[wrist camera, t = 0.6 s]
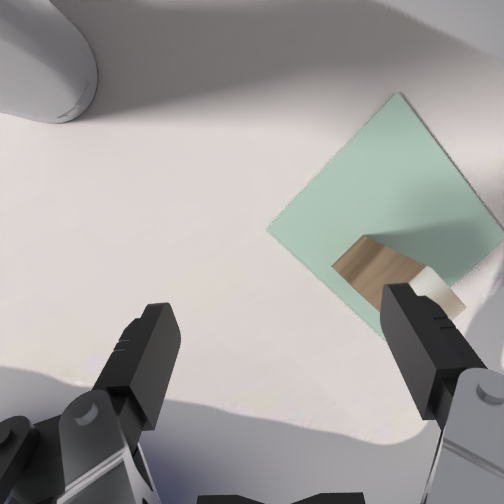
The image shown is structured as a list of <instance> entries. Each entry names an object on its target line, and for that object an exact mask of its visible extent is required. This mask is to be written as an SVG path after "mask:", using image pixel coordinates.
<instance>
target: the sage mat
mask: <svg viewBox="0 0 504 504" xmlns="http://www.w3.org/2000/svg"><path fill="white" fill-rule="evenodd" d="M266 230H267V231H268V232H269V233H270V234H271V235H272V236H273V237H274V238H275V239H277V240H278V241H279V242H280V243H281V244H282V245H283V246H284V247H285V248H286V249H287V250H288V251H289V252H290V253H292V254H293V255H294V256H295V257H296V258H297V259H298V260H299V261H300V262H301V263H302V264H303V265H304V266H306V267H307V268H308V269H309V270H310V271H311V272H312V273H313V274H314V275H315V276H316V277H317V278H318V279H319V280H321V281H322V282H323V283H324V284H325V285H326V286H327V287H328V288H329V289H330V290H331V291H332V292H333V293H334V294H336V295H337V296H338V297H339V298H340V299H341V300H342V301H343V302H344V303H345V304H346V305H347V306H348V307H350V308H351V309H352V310H353V311H354V312H355V313H356V314H357V315H358V316H359V317H360V318H361V319H362V320H363V321H365V322H366V323H367V324H368V325H369V326H370V327H371V328H372V329H373V330H374V331H375V332H376V333H377V334H379V335H380V336H381V337H382V338H383V339H384V340H385V341H386V339H385V337H384V334H383V332H382V329H381V325H380V312H379V311H378V310H377V309H376V308H374V307H373V306H372V305H371V304H370V303H369V302H368V301H367V300H366V299H365V298H364V297H362V296H361V295H360V294H359V293H358V292H357V291H356V290H355V289H354V288H353V287H352V286H351V285H350V284H349V283H348V282H347V281H346V280H345V279H344V278H343V277H341V276H340V275H339V274H338V273H337V272H336V271H335V270H334V269H333V268H332V267H331V266H332V265H333V264H334V263H335V262H336V261H337V260H338V259H339V258H340V257H341V256H342V255H343V254H344V253H345V252H346V251H347V250H348V249H349V248H350V247H351V246H352V245H353V244H354V243H355V242H356V241H357V240H358V239H359V238H360V237H361V236H362V235H364V236H366V237H368V238H370V239H373V240H375V241H377V242H379V243H381V244H383V245H385V246H387V247H389V248H391V249H393V250H395V251H397V252H399V253H401V254H403V255H405V256H408V257H410V258H412V259H414V260H416V261H418V262H420V263H422V264H424V265H426V266H428V267H430V268H432V269H433V270H434V271H435V272H436V273H437V274H438V276H439V277H440V278H441V279H442V280H443V281H444V282H445V283H446V284H447V286H448V287H449V288H450V287H451V286H452V285H453V284H455V283H456V282H457V281H458V280H459V279H460V278H461V277H462V276H463V275H464V274H466V273H467V272H468V271H469V270H470V269H471V268H472V267H473V266H474V265H476V264H477V263H478V262H479V261H480V260H481V259H482V258H483V257H484V256H486V255H487V254H488V253H489V252H490V251H491V250H492V249H493V248H494V247H495V246H497V245H498V244H499V243H500V242H501V241H502V240H503V239H504V232H503V230H502V229H501V228H500V226H499V225H498V224H497V222H496V221H495V220H494V218H493V217H492V216H491V214H490V213H489V212H488V210H487V209H486V208H485V206H484V205H483V204H482V202H481V201H480V200H479V198H478V197H477V196H476V194H475V193H474V192H473V190H472V189H471V188H470V186H469V185H468V184H467V182H466V181H465V180H464V178H463V177H462V176H461V174H460V173H459V172H458V170H457V169H456V168H455V166H454V165H453V164H452V162H451V161H450V160H449V158H448V157H447V156H446V154H445V153H444V152H443V150H442V149H441V148H440V146H439V145H438V144H437V142H436V141H435V140H434V138H433V137H432V136H431V134H430V133H429V132H428V130H427V129H426V128H425V126H424V125H423V124H422V122H421V121H420V120H419V118H418V117H417V116H416V114H415V113H414V112H413V110H412V109H411V108H410V106H409V105H408V104H407V103H406V101H405V100H404V99H403V97H402V96H401V95H400V93H399V92H397V93H395V94H394V95H393V96H392V97H391V98H390V99H389V100H388V101H387V102H386V104H385V105H384V106H383V107H382V108H381V109H380V110H379V111H378V112H377V113H376V114H375V115H374V116H373V117H372V118H371V119H370V120H369V121H368V122H367V123H366V125H365V126H364V127H363V128H362V129H361V130H360V131H359V132H358V133H357V134H356V135H355V136H354V137H353V138H352V139H351V140H350V141H349V142H348V143H347V144H346V146H345V147H344V148H343V149H342V150H341V151H340V152H339V153H338V154H337V155H336V156H335V157H334V158H333V159H332V160H331V161H330V162H329V163H328V164H327V166H326V167H325V168H324V169H323V170H322V171H321V172H320V173H319V174H318V175H317V176H316V177H315V178H314V179H313V180H312V181H311V182H310V183H309V184H308V185H307V187H306V188H305V189H304V190H303V191H302V192H301V193H300V194H299V195H298V196H297V197H296V198H295V199H294V200H293V201H292V202H291V203H290V204H289V205H288V206H287V208H286V209H285V210H284V211H283V212H282V213H281V214H280V215H279V216H278V217H277V218H276V219H275V220H274V221H273V222H272V223H271V224H270V225H269V226H268V228H267V229H266ZM386 342H387V341H386Z"/></svg>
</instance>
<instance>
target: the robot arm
mask: <svg viewBox="0 0 504 504" xmlns="http://www.w3.org/2000/svg"><path fill="white" fill-rule="evenodd" d="M97 77H98V76H97V67H96V62H95V59H94V56H93V52H92V50H91V48H90V46H89V44H88V42H87V41H86V39H85V38H84V36H83V35H82V34H81V33H80V31H79V30H78V29H77V28H76V27H75V26H74V25H73V24H72V23H71V22H70V21H69V20H68V19H67V18H66V17H65V16H64V15H63V14H62V13H61V12H60V11H59V10H58V9H57V8H56V7H55V6H54V5H53V4H52V3H51V2H50V1H49V0H0V112H1V113H5V114H9V115H12V116H16V117H21V118H25V119H29V120H33V121H37V122H43V123H49V124H55V123H64V122H67V121H70V120H73V119H74V118H76V117H78V116H79V115H81V114H82V113H83V112H84V111H85V110H86V109H87V108H88V106H89V105H90V103H91V101H92V100H93V98H94V95H95V91H96V88H97ZM380 325H381V329H382V332H383V334H384V337H385V339H386V341H387V343H388V345H389V348H390V350H391V352H392V354H393V356H394V359H395V361H396V363H397V365H398V367H399V369H400V372H401V374H402V376H403V378H404V380H405V383H406V385H407V387H408V389H409V391H410V394H411V396H412V398H413V400H414V402H415V404H416V407H417V409H418V411H419V413H420V415H421V418H422V420H436V421H437V423H438V425H439V427H440V429H441V431H440V435H439V438H438V442H437V445H436V449H435V453H434V456H433V460H432V464H431V467H430V471H429V474H428V478H427V482H426V486H425V489H424V493H423V496H422V500H421V503H420V504H504V376H503V375H502V374H499V373H497V372H495V371H492V370H489V369H488V368H487V367H486V366H485V365H484V363H483V362H482V361H481V359H480V358H479V357H478V356H477V354H476V353H475V351H474V350H473V349H472V347H471V346H470V345H469V343H468V342H467V341H466V339H465V338H464V337H463V335H462V334H461V333H460V332H459V330H458V329H456V326H455V325H454V324H453V322H452V321H451V320H450V319H449V318H448V316H447V314H446V313H445V312H444V310H443V309H442V308H441V306H440V305H439V304H437V303H436V302H434V301H433V300H431V299H430V298H429V297H427V296H426V295H424V296H417V295H416V293H415V292H414V290H413V289H412V287H411V286H410V284H409V283H407V282H404V283H393V284H384V286H383V290H382V299H381V309H380ZM180 343H181V334H180V330H179V327H178V324H177V322H176V319H175V316H174V313H173V311H172V308H171V305H170V304H169V303H155V304H148V305H147V306H146V308H145V310H144V312H143V314H142V316H141V318H136V319H134V320H133V321H132V322H131V323H130V324H129V325H128V326H127V327H126V328H125V330H124V331H123V333H122V335H121V337H120V339H119V343H117V344H116V346H115V348H114V352H112V354H111V355H110V357H109V359H108V361H107V363H106V365H105V366H104V368H103V370H102V372H101V374H100V376H99V378H98V379H97V381H96V383H95V385H94V387H93V389H92V390H91V391H89V392H86V393H84V394H82V395H80V396H79V397H77V398H76V399H75V400H74V401H72V402H71V403H70V404H69V405H68V407H67V408H66V409H65V410H64V412H63V413H62V414H61V415H59V416H56V417H53V418H50V419H48V420H44V421H42V422H39V423H36V424H32V423H31V422H30V420H29V419H27V418H26V417H24V416H14V417H11V418H8V419H6V420H4V421H2V422H0V504H4V502H5V500H6V499H7V497H8V495H9V494H10V495H11V496H12V498H11V500H10V502H9V503H8V504H161V502H160V500H159V498H158V495H157V492H156V489H155V486H154V483H153V480H152V478H151V475H150V472H149V469H148V466H147V463H146V461H145V458H144V455H143V452H142V449H141V446H140V444H139V442H138V441H139V438H140V435H141V432H142V431H147V430H148V431H149V430H155V426H156V423H157V420H158V417H159V413H160V410H161V406H162V404H163V400H164V397H165V394H166V391H167V387H168V384H169V381H170V377H171V374H172V371H173V368H174V364H175V361H176V358H177V355H178V351H179V348H180ZM197 504H264V503H261V502H257V501H254V500H251V499H248V498H245V497H242V496H239V495H205V496H204V495H203V496H198V499H197ZM292 504H365V500H364V495H363V493H362V492H361V493H320V494H317V495H314V496H311V497H309V498H306V499H303V500H300V501H298V502H295V503H292Z"/></svg>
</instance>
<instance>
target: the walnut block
mask: <svg viewBox="0 0 504 504" xmlns="http://www.w3.org/2000/svg"><path fill="white" fill-rule="evenodd" d="M331 267H332V268H333V269H334V270H335V271H336V272H337V273H338V274H339V275H340V276H341V277H343V278H344V279H345V280H346V281H347V282H348V283H349V284H350V285H351V286H352V287H353V288H354V289H355V290H356V291H357V292H358V293H359V294H360V295H361V296H362V297H364V298H365V299H366V300H367V301H368V302H369V303H370V304H371V305H372V306H373V307H374V308H376V309H377V310H378V311H379V312H380V309H381V299H382V290H383V286H384V284H393V283H404V282H407V283H409V284H410V286H411V287H412V289H413V290H414V292H415V293H416V295H417V296H424V295H426V296H427V297H429V298H430V299H431V300H433V301H434V302H436V303H437V304H439V305H440V306H441V308H442V309H443V310H444V312H445V313H446V314H447V316H448V318H449V319H450V320H451V321H452V320H453V319H454V318H455V317H456V316H457V315H459V314H460V313H461V312H462V311H463V310H464V309H465V308H467V307H466V306H465V305H464V303H463V302H462V301H461V300H460V299H459V298H458V297H457V296H456V295H455V293H454V292H453V291H452V290H451V289H450V288H449V287H448V286H447V284H446V283H445V282H444V281H443V280H442V279H441V278H440V277H439V276H438V274H437V273H436V272H435V271H434V270H433V269H432V268H430V267H428V266H426V265H424V264H422V263H420V262H418V261H416V260H414V259H412V258H410V257H408V256H405V255H403V254H401V253H399V252H397V251H395V250H393V249H391V248H389V247H387V246H385V245H383V244H381V243H379V242H377V241H375V240H373V239H370V238H368V237H366V236H364V235H362V236H361V237H360V238H359V239H358V240H357V241H356V242H355V243H354V244H353V245H352V246H351V247H350V248H349V249H348V250H347V251H346V252H345V253H344V254H343V255H342V256H341V257H340V258H339V259H338V260H337V261H336V262H335V263H334V264H333V265H332V266H331Z"/></svg>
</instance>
